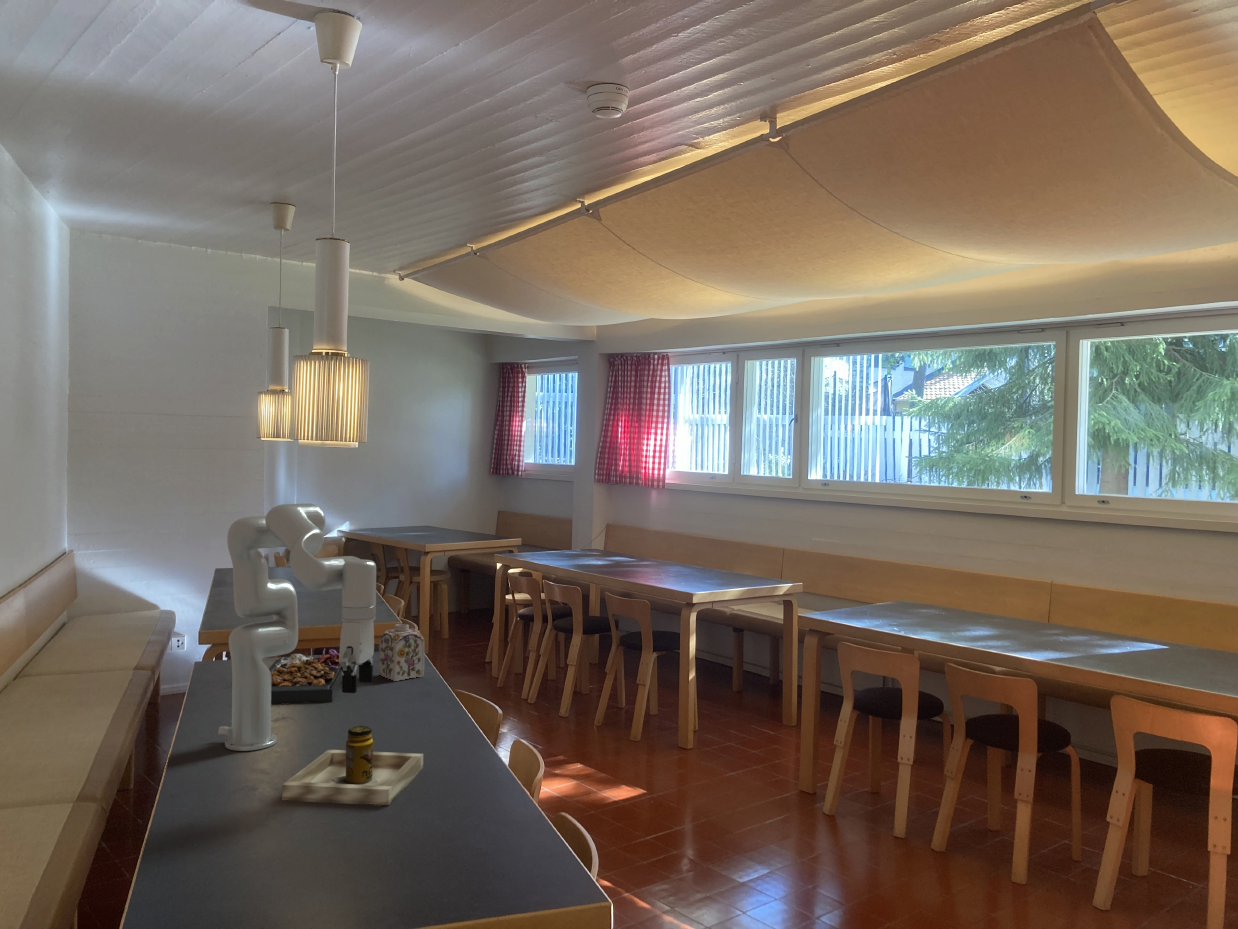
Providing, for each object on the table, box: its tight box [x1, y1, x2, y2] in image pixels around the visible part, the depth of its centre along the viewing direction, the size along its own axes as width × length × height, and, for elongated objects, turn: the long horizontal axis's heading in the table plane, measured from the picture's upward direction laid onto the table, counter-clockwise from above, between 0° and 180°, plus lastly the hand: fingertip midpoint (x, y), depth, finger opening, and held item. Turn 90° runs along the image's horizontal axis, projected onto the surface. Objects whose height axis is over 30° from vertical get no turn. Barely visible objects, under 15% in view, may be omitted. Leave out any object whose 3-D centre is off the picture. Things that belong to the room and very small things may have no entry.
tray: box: [281, 749, 424, 806], centre depth 205 cm, size 24×24×4 cm
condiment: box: [333, 725, 378, 785], centre depth 205 cm, size 7×8×12 cm
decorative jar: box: [378, 623, 425, 682], centre depth 308 cm, size 12×12×18 cm
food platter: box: [268, 647, 342, 705], centre depth 294 cm, size 45×25×10 cm, turn 11°
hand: (357, 687), depth 205 cm, fingers open, 9 cm apart
